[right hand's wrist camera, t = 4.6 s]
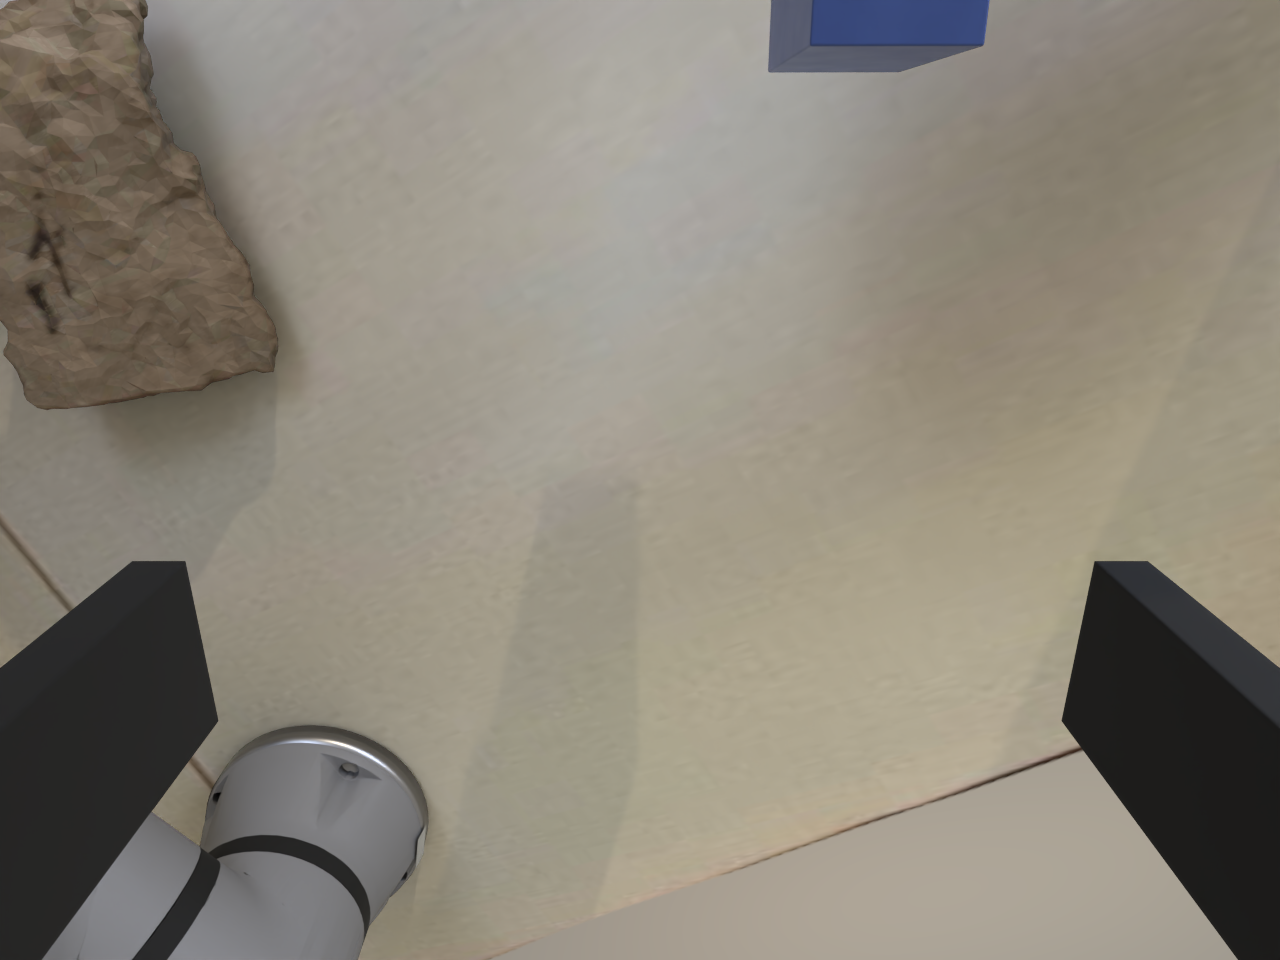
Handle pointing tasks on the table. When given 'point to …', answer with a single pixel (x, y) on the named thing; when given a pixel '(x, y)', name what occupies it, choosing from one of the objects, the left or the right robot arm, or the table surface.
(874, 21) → the bar
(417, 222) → the table surface
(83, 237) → the stone
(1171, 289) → the table surface
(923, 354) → the table surface
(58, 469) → the table surface
